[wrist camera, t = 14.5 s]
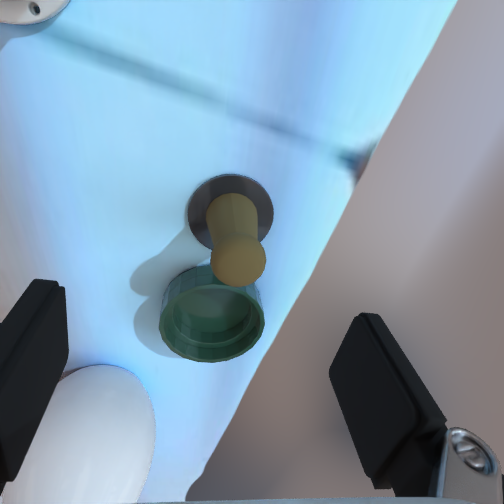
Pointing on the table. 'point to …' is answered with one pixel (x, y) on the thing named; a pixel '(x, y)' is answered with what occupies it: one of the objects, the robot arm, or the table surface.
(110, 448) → the pitcher
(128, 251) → the table surface
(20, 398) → the robot arm
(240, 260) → the cork
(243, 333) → the bowl
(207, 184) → the coaster
